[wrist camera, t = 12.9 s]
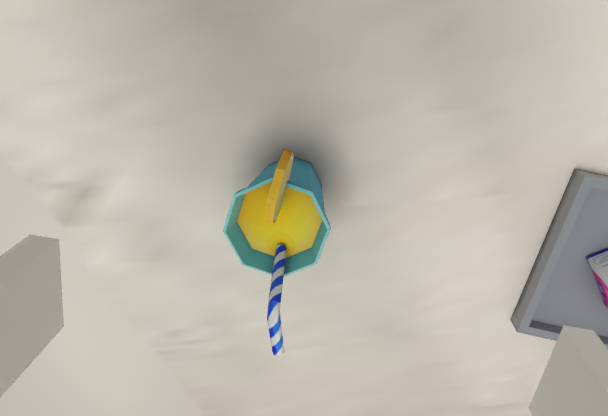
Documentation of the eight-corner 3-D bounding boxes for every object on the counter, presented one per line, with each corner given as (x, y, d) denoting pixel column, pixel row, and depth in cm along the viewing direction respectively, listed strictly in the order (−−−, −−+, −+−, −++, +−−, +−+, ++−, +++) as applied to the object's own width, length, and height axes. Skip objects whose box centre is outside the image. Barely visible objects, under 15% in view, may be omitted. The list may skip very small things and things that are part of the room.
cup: (337, 261, 48) (333, 361, 34) (257, 262, 48) (221, 361, 34) (331, 115, 43) (323, 161, 29) (242, 119, 44) (193, 166, 30)
